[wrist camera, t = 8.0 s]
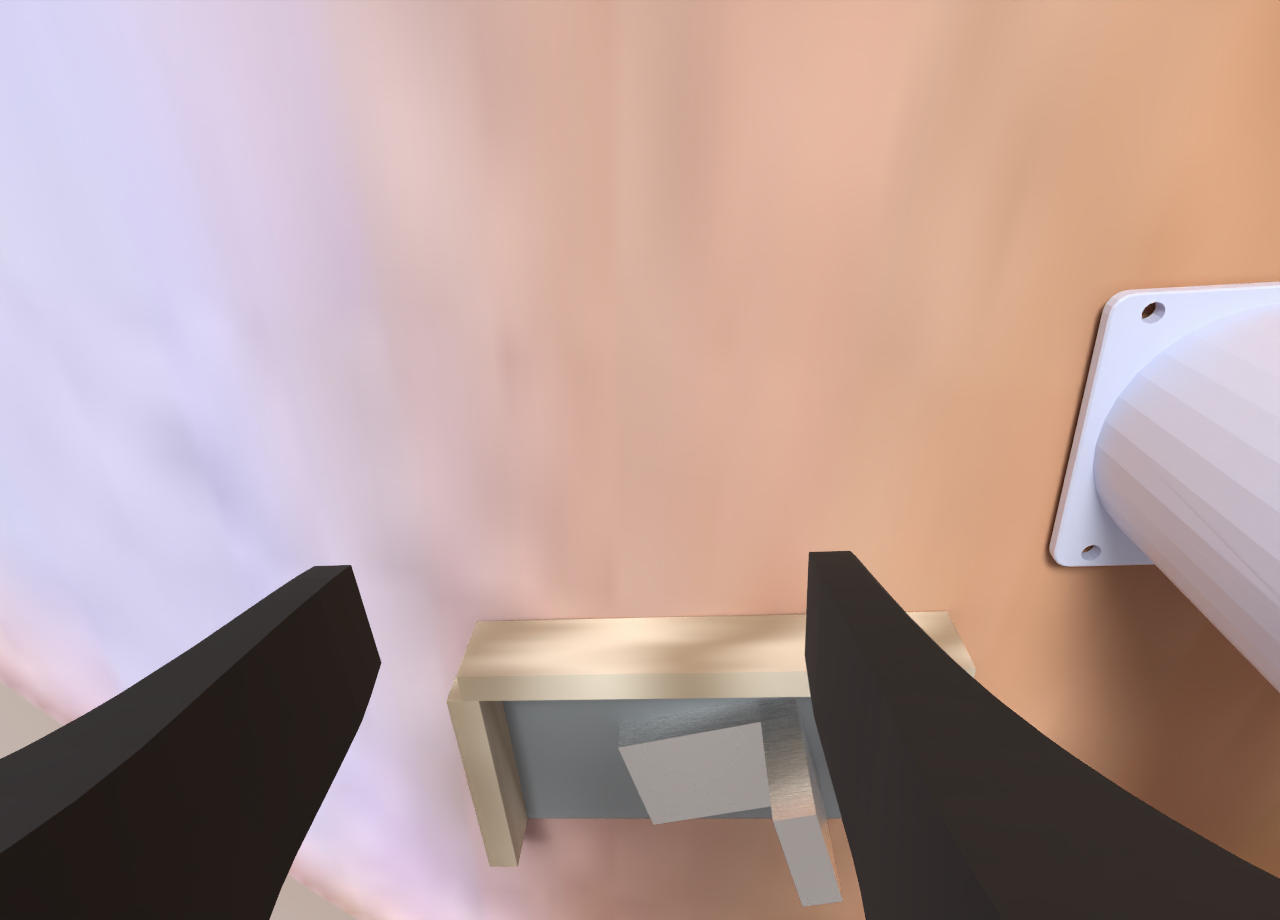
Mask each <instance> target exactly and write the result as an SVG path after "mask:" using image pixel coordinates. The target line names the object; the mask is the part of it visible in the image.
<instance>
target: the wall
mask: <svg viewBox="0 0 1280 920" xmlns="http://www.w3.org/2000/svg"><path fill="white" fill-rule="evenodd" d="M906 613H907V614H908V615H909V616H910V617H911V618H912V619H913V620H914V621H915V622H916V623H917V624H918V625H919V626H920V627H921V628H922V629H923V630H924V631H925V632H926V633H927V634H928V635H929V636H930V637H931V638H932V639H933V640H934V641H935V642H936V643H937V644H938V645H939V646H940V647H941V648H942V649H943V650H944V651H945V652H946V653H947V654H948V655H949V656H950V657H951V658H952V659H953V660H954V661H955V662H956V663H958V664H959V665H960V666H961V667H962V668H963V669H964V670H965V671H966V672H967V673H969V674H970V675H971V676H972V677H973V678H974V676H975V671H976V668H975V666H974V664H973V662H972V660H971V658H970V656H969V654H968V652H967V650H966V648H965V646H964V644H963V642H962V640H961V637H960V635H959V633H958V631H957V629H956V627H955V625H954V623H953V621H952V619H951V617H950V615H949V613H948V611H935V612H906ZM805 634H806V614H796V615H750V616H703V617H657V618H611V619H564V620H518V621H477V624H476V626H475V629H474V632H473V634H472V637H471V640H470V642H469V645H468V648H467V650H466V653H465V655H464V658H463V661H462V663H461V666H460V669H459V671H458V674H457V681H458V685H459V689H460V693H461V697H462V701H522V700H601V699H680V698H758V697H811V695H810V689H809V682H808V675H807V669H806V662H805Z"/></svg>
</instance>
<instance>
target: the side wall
mask: <svg viewBox="0 0 1280 920" xmlns="http://www.w3.org/2000/svg"><path fill="white" fill-rule="evenodd" d="M467 648H468V646H467ZM466 650H467V649H466ZM465 653H466V652H465ZM464 655H465V654H464ZM463 658H464V657H463ZM462 661H463V660H462ZM461 663H462V662H461ZM460 666H461V665H460ZM459 669H460V667H459ZM458 671H459V670H458ZM457 674H458V673H457ZM447 705H448V709H449V713H450V716H451V720H452V724H453V728H454V731H455V735H456V739H457V743H458V747H459V750H460V754H461V758H462V762H463V766H464V769H465V773H466V777H467V781H468V785H469V788H470V792H471V796H472V800H473V804H474V807H475V811H476V815H477V819H478V823H479V826H480V830H481V834H482V838H483V842H484V845H485V849H486V853H487V857H488V861H489V864H490V866H518V863H519V858H520V853H521V848H522V843H523V839H524V834H525V829H526V824H527V820H528V817H527V812H526V808H525V803H524V798H523V794H522V789H521V784H520V780H519V775H518V770H517V766H516V761H515V757H514V752H513V747H512V743H511V738H510V733H509V729H508V724H507V719H506V715H505V710H504V705H503V701H462V697H461V693H460V689H459V685H458V681H457V675H456V678H455V681H454V683H453V686H452V689H451V691H450V694H449V696H448V699H447Z"/></svg>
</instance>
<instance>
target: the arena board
mask: <svg viewBox="0 0 1280 920" xmlns="http://www.w3.org/2000/svg"><path fill="white" fill-rule="evenodd" d="M758 698H762V697H758ZM751 699H757V698H680V699H601V700H522V701H503V705H504V710H505V715H506V719H507V724H508V729H509V733H510V738H511V743H512V747H513V752H514V757H515V761H516V766H517V770H518V775H519V780H520V784H521V789H522V794H523V798H524V803H525V808H526V812H527V817H528V818H650V816H649V814H648V812H647V810H646V808H645V805H644V803H643V801H642V799H641V797H640V795H639V792H638V790H637V788H636V786H635V784H634V782H633V779H632V777H631V775H630V773H629V771H628V768H627V766H626V764H625V762H624V760H623V758H622V755H621V753H620V751H619V749H618V742H619V732H620V724H623V723H628V722H634V721H639V720H644V719H650V718H655V717H660V716H666V715H671V714H676V713H682V712H687V711H692V710H698V709H703V708H709V707H714V706H719V705H725V704H730V703H735V702H741V701H746V700H751ZM796 700H797V704H798V707H799V710H800V714H801V717H802V721H803V724H804V727H805V731H806V734H807V738H808V741H809V744H810V748H811V751H812V754H813V758H814V761H815V765H816V768H817V771H818V776H819V781H820V786H821V791H822V796H823V802H824V807H825V812H826V817H827V818H842V817H841V813H840V810H839V806H838V803H837V799H836V795H835V792H834V788H833V785H832V781H831V777H830V774H829V770H828V767H827V763H826V759H825V756H824V752H823V748H822V745H821V741H820V737H819V734H818V730H817V726H816V722H815V719H814V714H813V708H812V701H811V697H796ZM700 818H772V810H771V806H770V807H763V808H757V809H751V810H744V811H738V812H732V813H725V814H719V815H713V816H707V817H700Z"/></svg>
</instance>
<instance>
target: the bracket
mask: <svg viewBox="0 0 1280 920" xmlns="http://www.w3.org/2000/svg"><path fill="white" fill-rule="evenodd" d="M618 749H619V751H620V753H621V755H622V758H623V760H624V762H625V764H626V766H627V768H628V771H629V773H630V775H631V777H632V779H633V782H634V784H635V786H636V788H637V790H638V792H639V795H640V797H641V799H642V801H643V803H644V805H645V808H646V810H647V812H648V814H649V816H650V818H651V821H652V823H653V825H656V824H662V823H669V822H675V821H681V820H688V819H694V818H700V817H707V816H713V815H719V814H725V813H732V812H738V811H744V810H751V809H757V808H763V807H770V806H771V810H772V819H773V823H774V826H775V829H776V832H777V835H778V838H779V840H780V843H781V846H782V849H783V852H784V855H785V858H786V860H787V863H788V866H789V869H790V872H791V875H792V878H793V881H794V883H795V886H796V889H797V892H798V895H799V898H800V901H801V903H802V906H803V907H805V906H812V905H820V904H827V903H835V902H842V901H843V899H842V894H841V889H840V884H839V879H838V874H837V868H836V863H835V858H834V853H833V848H832V843H831V838H830V832H829V827H828V822H827V817H826V812H825V807H824V802H823V796H822V791H821V786H820V781H819V776H818V771H817V768H816V765H815V761H814V758H813V754H812V751H811V748H810V744H809V741H808V738H807V734H806V731H805V727H804V724H803V721H802V717H801V714H800V710H799V707H798V704H797V700H796V697H762V698H757V699H751V700H746V701H741V702H735V703H730V704H725V705H719V706H714V707H709V708H703V709H698V710H692V711H687V712H682V713H676V714H671V715H666V716H660V717H655V718H650V719H644V720H639V721H634V722H628V723H623V724H620V732H619V742H618Z"/></svg>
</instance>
